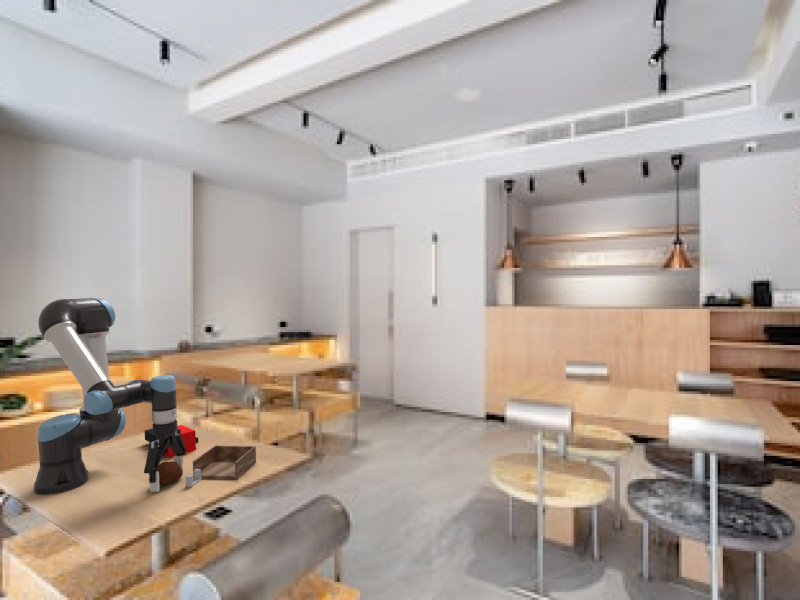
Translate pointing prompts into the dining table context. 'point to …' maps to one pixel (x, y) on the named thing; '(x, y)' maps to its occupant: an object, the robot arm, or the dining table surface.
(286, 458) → the dining table surface
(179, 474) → the potato
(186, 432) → the red-and-black block model
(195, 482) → the clip
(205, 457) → the holder
